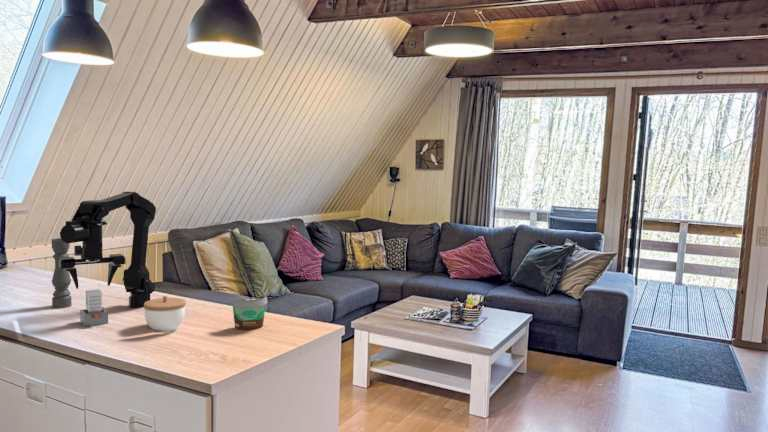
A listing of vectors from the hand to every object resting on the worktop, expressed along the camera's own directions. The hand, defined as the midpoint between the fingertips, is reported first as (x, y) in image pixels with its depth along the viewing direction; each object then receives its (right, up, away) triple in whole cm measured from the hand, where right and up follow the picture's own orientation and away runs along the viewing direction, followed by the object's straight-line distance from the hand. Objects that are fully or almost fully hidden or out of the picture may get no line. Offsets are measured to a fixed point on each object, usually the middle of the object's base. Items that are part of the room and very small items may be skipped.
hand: (93, 287), depth 180 cm
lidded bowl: (+24, -14, -1) cm, 28 cm away
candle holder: (-24, -10, +24) cm, 36 cm away
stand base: (0, -13, +1) cm, 13 cm away
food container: (+51, -14, +4) cm, 53 cm away
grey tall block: (0, -12, +1) cm, 12 cm away
